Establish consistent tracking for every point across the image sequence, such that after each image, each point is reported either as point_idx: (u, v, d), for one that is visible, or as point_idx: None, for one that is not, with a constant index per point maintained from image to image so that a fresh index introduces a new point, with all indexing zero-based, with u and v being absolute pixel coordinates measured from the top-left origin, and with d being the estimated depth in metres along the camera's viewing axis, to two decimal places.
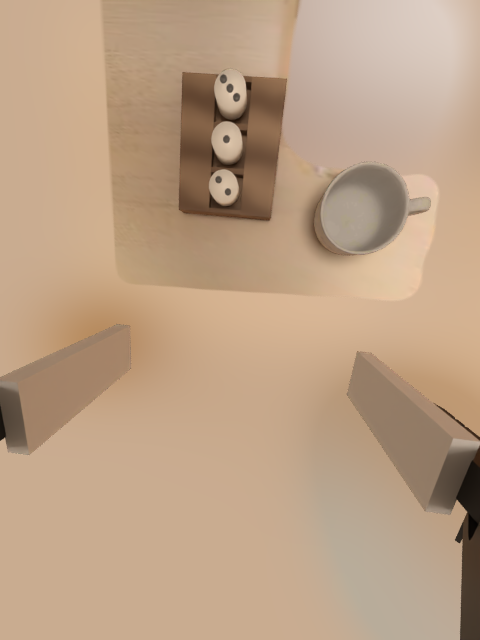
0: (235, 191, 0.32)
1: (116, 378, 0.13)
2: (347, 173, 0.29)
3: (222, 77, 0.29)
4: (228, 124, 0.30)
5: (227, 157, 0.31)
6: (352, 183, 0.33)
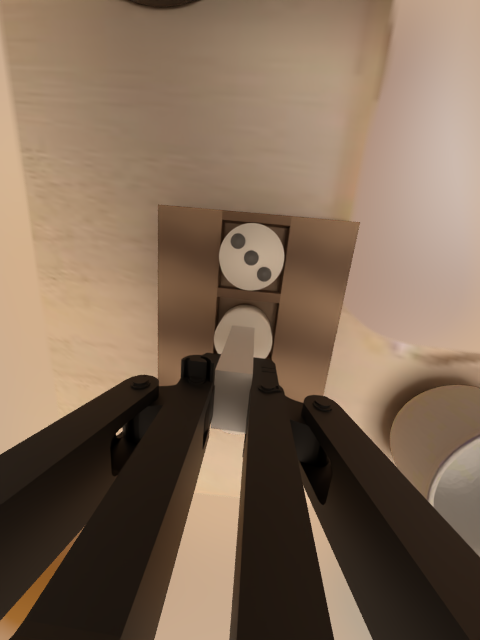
0: None
1: None
2: None
3: (235, 237, 0.14)
4: (247, 317, 0.15)
5: None
6: None
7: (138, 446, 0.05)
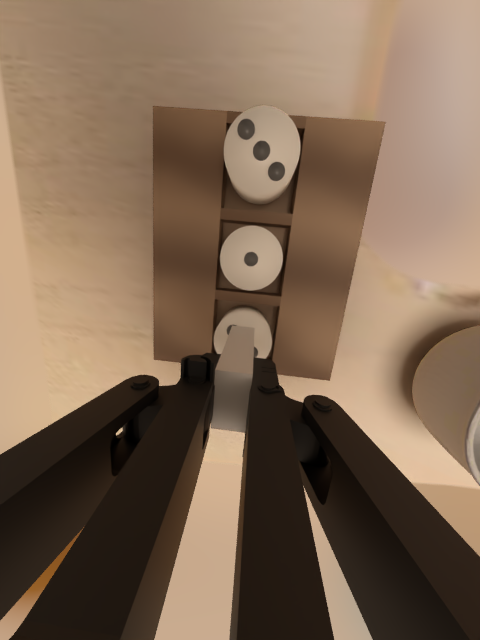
0: (266, 352, 0.16)
1: None
2: None
3: (243, 124, 0.12)
4: (255, 231, 0.14)
5: (251, 289, 0.16)
6: None
7: (138, 446, 0.05)
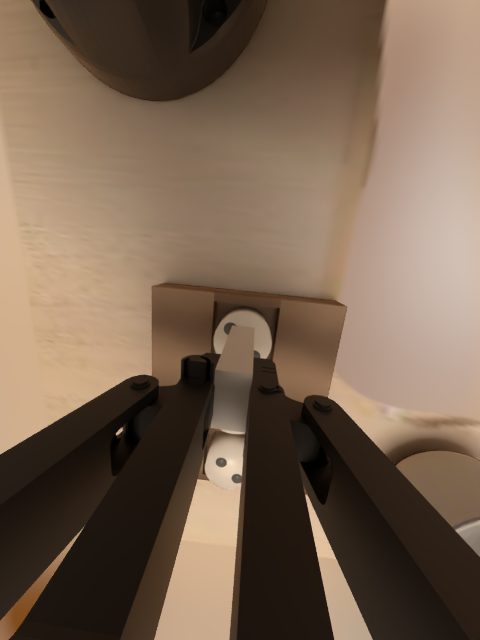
0: None
1: None
2: None
3: (228, 325, 0.16)
4: None
5: (236, 431, 0.18)
6: None
7: (138, 446, 0.05)
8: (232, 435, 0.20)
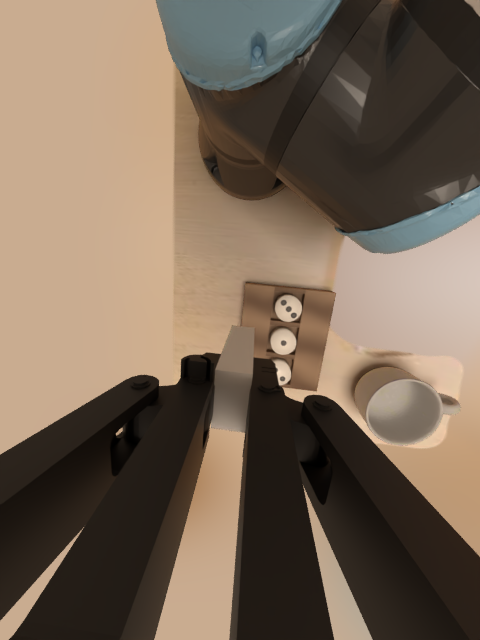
0: (288, 378, 0.38)
1: None
2: None
3: (282, 300, 0.35)
4: (285, 333, 0.36)
5: (282, 354, 0.38)
6: None
7: (138, 446, 0.05)
8: (279, 359, 0.39)
